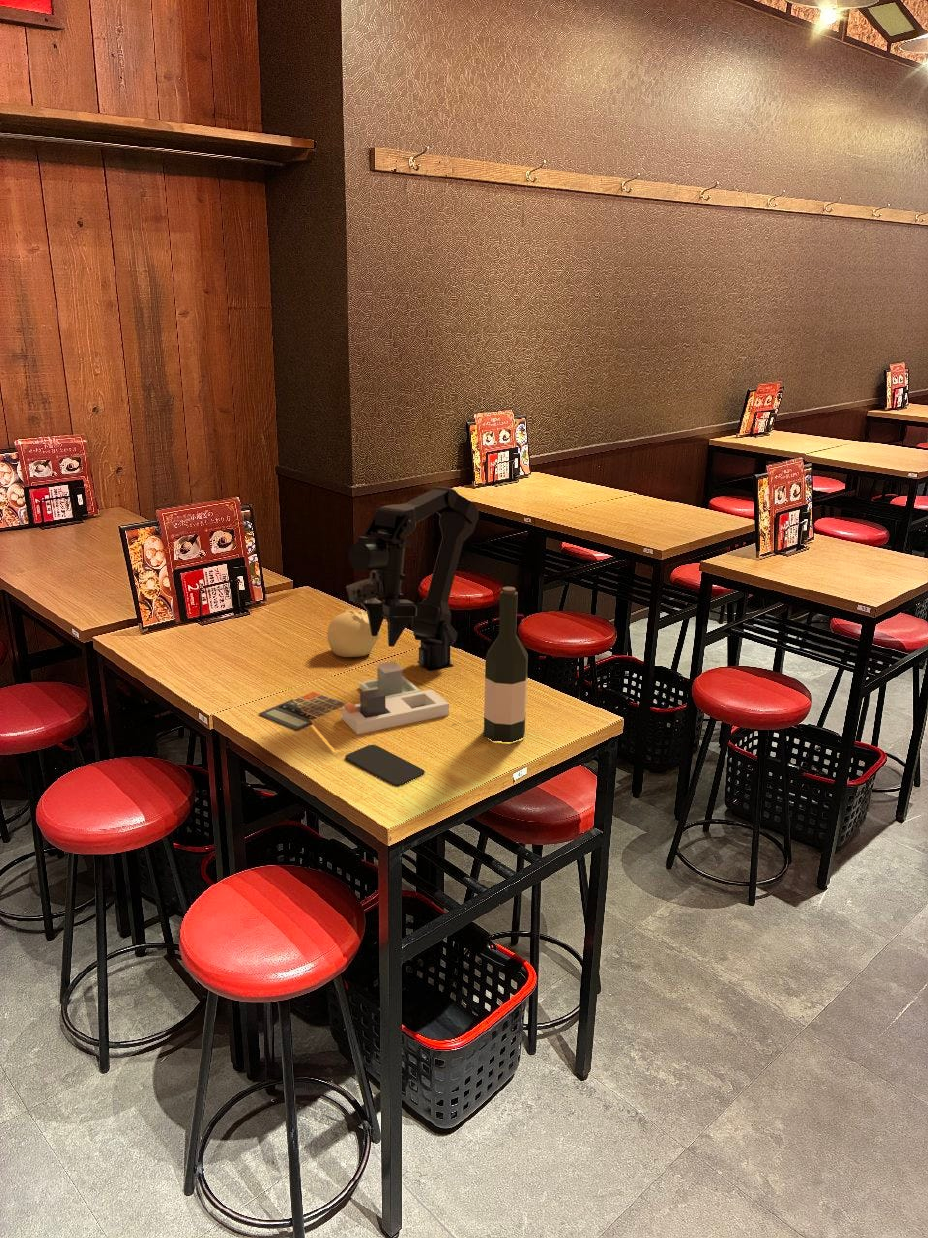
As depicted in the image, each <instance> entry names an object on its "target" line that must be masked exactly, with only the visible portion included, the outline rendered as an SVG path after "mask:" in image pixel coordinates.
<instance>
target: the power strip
mask: <svg viewBox="0 0 928 1238" xmlns="http://www.w3.org/2000/svg"><path fill="white" fill-rule="evenodd" d="M359 701H360V703H356V704H353V702H349V703H344V706H342V707H341V713H342V714H341V715H342V717H341V718H342V720H343V721H344V722H345V723H346V724H347V726H349V728H350V729H352V731H353V732H354V733H355V734H356V735H357V736H358V735H362V734H367V733H372V732H377V731H382V730H387V729H391V728H395V727H399V726H404V725H408V724H409V725H410V724H413V723H414V724H415V723H419V722H423V721H428V720H431V719H436V718H442V717H446V716H450V702H448V701H447V700H445V699H444V698H443V697H442V696H441V695H439V694H438V693H436V692H435V691H434V690H433V689H428V690H427V689H426V690H421V692H416V693H411V694H406V695H401V696H396V697H391V698H386V699H385V695H384V694H383V693H382V692H381V691H380V690H378V689H374V690H369V691H360V692H359Z"/></svg>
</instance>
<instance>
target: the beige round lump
mask: <svg viewBox="0 0 928 1238" xmlns="http://www.w3.org/2000/svg"><path fill="white" fill-rule="evenodd" d="M365 611H366V610H364V609H345V610H344V612H342V613H340V614H337V616H335V617H334V618H333V619H332V620H331V621H330V623H329V625H328V628H327V635H326V636H327V642H328V644H329V647H330V649H331V650H332V652H333V653H334V654H335V655H337V656H338V657H344V658H348V657H349V658H355V657H356V658H357V657H364V656H365V657H366V656H367V655H369V654H370V653H371V652H372V651H373V649H374V647H375V645H376V643H377V641H378V640H379V637H380V631H379V632H378V634H377V636H372V635H371V630H370V624H369V619H368V615H367V612H365Z"/></svg>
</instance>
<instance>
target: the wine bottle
mask: <svg viewBox="0 0 928 1238" xmlns="http://www.w3.org/2000/svg"><path fill="white" fill-rule="evenodd" d="M518 593H519V592H518V591H516V587H514V586H503V587H502V590H501V591H500V592H499V620H498V635H497V637H496V638H495V640H494V642H493V643H492V644H491V646H490V648H489V649H488V650H487V652H486V656H485V668H484V669H485V671H484V673H485V674H484V710H483V711H484V713H483V717H484V718H483V737H484V738H485V737H487V738H489V739H491V740H492V741H502V742H513V741H516V740H519V739H521V738H523V737H525V734H524V733H526V714H527V711H526V709H527V686H528V685H527V683H528V663H529V661H528V660H529V654H528V652H527V650H526V648H525V647H524V645H523V643H522V642H521V640H520V638H519V637H518V635H517V626H518V621H517V620H518V600H519V599H518V596H519V594H518ZM487 738H486V739H487ZM523 739H524V738H523Z"/></svg>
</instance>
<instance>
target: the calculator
mask: <svg viewBox="0 0 928 1238" xmlns="http://www.w3.org/2000/svg"><path fill="white" fill-rule="evenodd" d="M306 700H307V701H306ZM308 700H309V701H308ZM344 704H345V703H344V702H341V701H340V700H336V699H333V698H329V697H328V696H325V695H323V694H320V693H318V692H315V691H312V692H309V693H308V694H305V695H302V696H301V697H298V698H295V699H289V700H288V701H284V702H283V703H280V704H277V705H276V706H273V707H270V708H268V709H265V710H262V711H261V712H259V713H258V715H259V716H260V715H261V716H260V717H262V716H263V717H262V718H265V719H267V718H268V719H267V720H269V719H270V720H269V721H272V722H274V723H276V724H279V725H282V726H284V727H286V728H288V729H291V730H294V731H296V732H297V731H298V732H299V731H301V730H303V729H305V728H308V727H310V726H312V725H314V723H313V722H312V721H311V720H314V719H317V717H322V716H323V715H325V714H327V713H330V712H332V711H334V710H337V709H339V708H342V707H344ZM311 714H312V715H311ZM316 716H317V717H316Z"/></svg>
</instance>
